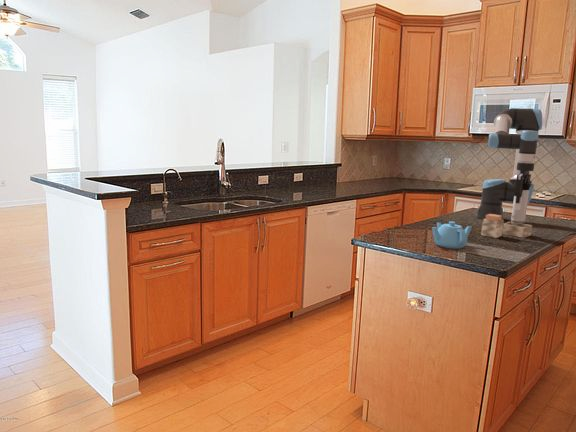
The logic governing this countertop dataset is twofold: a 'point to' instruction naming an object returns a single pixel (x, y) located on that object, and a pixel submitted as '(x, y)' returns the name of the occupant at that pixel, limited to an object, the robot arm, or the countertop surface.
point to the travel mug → (520, 215)
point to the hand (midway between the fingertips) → (519, 208)
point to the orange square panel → (493, 217)
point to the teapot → (450, 235)
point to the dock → (505, 229)
